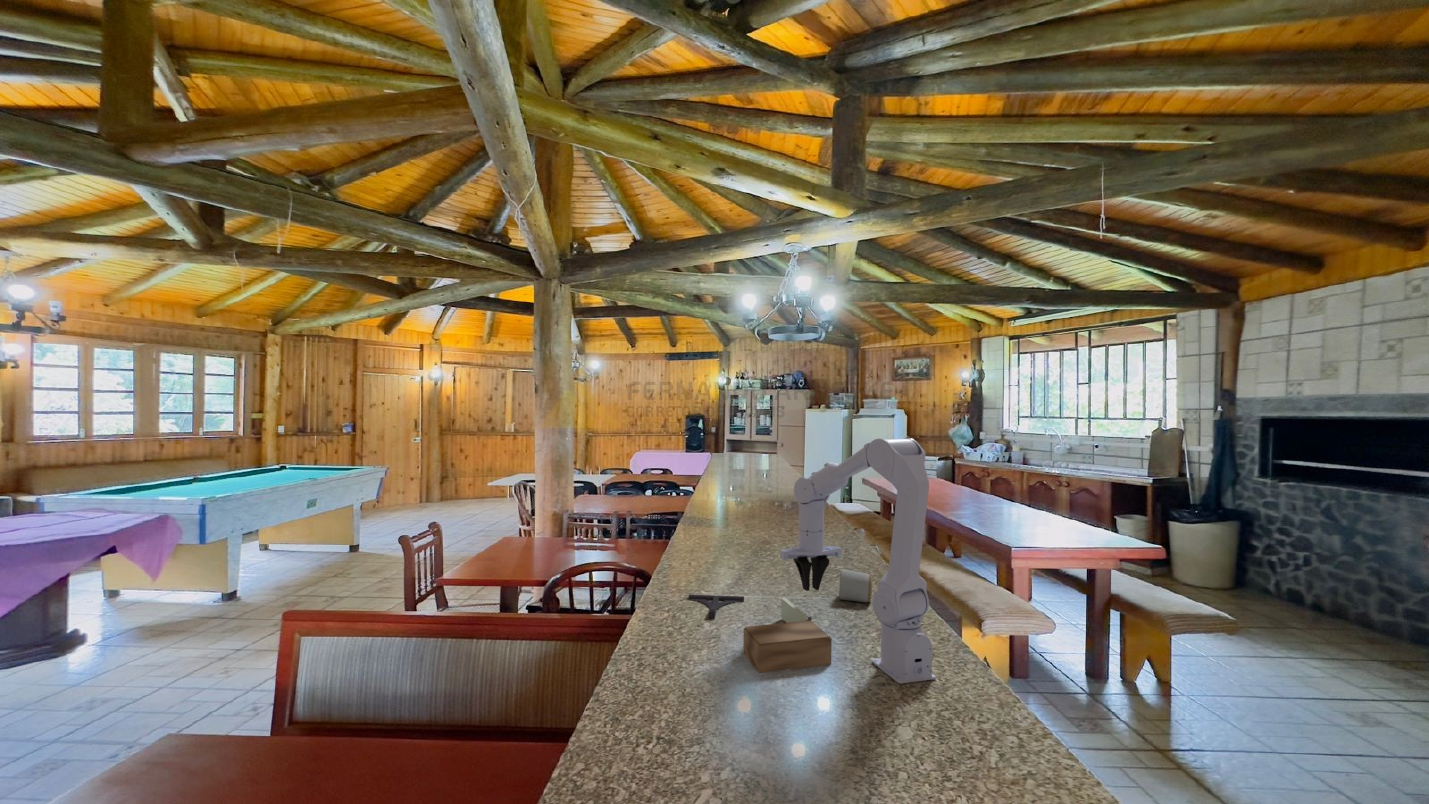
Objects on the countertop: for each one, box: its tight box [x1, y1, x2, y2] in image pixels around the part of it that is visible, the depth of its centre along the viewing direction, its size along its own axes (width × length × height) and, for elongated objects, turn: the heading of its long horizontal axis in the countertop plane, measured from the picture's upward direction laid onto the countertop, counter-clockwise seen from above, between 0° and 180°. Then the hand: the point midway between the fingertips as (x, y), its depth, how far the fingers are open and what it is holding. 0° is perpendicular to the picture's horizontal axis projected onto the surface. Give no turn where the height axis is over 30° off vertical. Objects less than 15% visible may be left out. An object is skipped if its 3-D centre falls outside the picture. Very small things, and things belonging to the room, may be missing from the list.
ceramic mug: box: [838, 568, 873, 603], centre depth 147 cm, size 11×8×8 cm
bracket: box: [688, 594, 745, 620], centre depth 138 cm, size 14×15×3 cm
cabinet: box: [742, 616, 833, 674], centre depth 111 cm, size 10×15×6 cm, turn 106°
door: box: [780, 597, 809, 623], centre depth 125 cm, size 14×2×5 cm, turn 16°
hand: (810, 589), depth 128 cm, fingers closed
